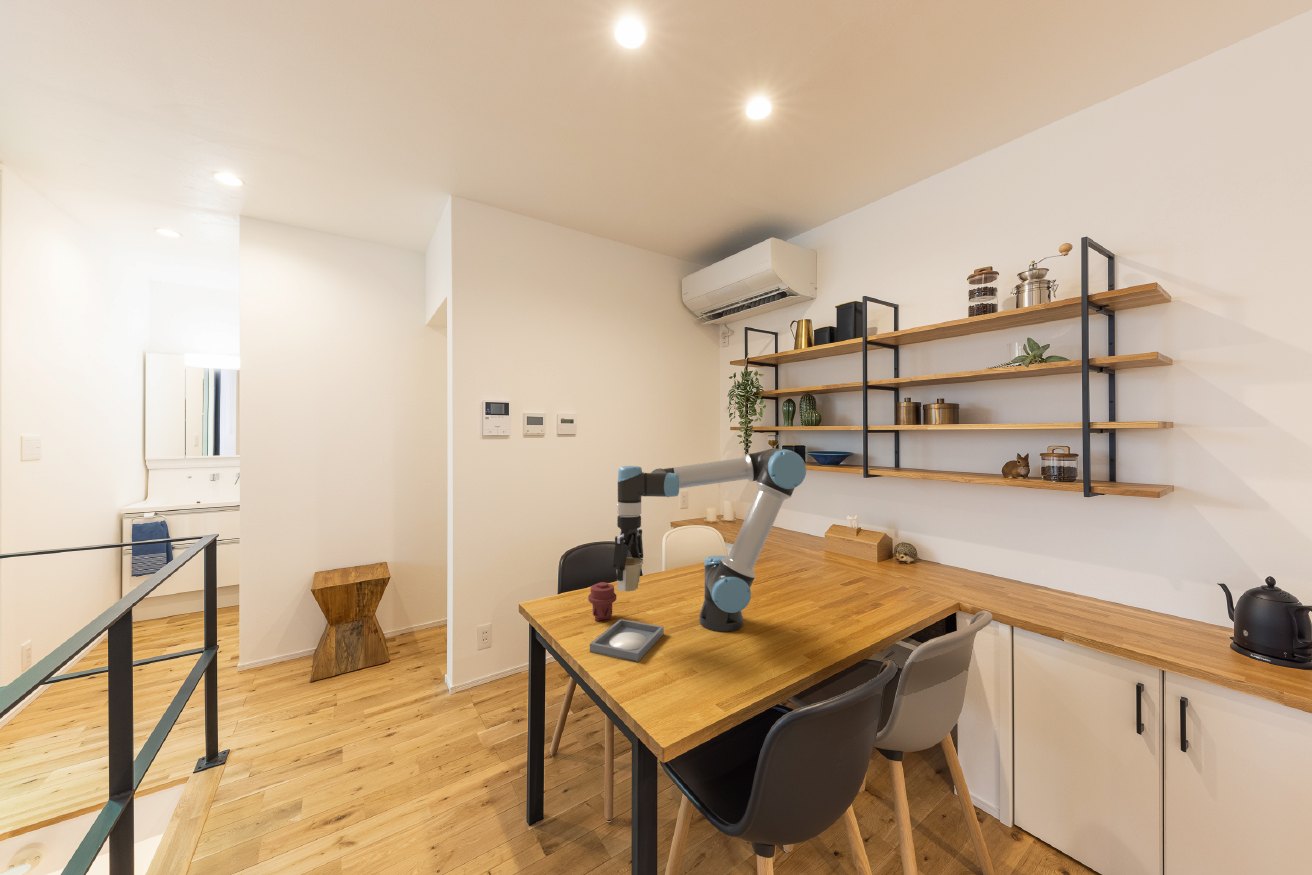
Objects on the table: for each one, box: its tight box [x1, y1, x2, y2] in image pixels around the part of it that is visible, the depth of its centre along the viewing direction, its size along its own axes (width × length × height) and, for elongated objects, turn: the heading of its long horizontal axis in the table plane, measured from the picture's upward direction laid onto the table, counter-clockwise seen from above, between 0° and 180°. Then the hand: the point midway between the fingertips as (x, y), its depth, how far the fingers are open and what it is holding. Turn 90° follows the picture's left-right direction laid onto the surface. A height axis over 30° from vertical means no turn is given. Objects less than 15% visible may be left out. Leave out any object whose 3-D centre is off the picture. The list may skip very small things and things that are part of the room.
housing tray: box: [589, 618, 665, 663], centre depth 146 cm, size 16×20×2 cm
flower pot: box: [615, 557, 644, 592], centre depth 147 cm, size 9×9×9 cm
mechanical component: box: [588, 581, 617, 622], centre depth 165 cm, size 12×10×10 cm
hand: (628, 585), depth 147 cm, fingers closed on flower pot, 8 cm apart
